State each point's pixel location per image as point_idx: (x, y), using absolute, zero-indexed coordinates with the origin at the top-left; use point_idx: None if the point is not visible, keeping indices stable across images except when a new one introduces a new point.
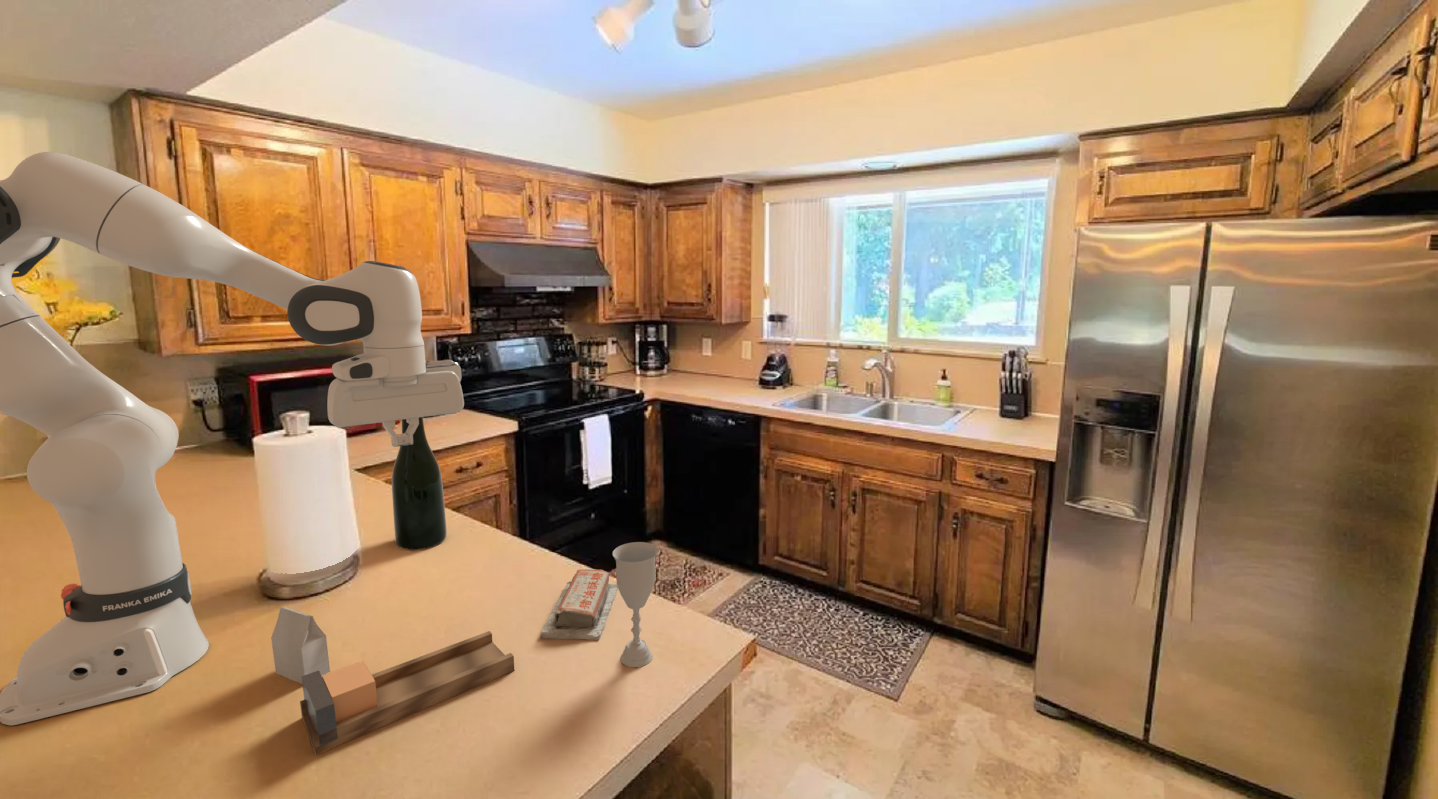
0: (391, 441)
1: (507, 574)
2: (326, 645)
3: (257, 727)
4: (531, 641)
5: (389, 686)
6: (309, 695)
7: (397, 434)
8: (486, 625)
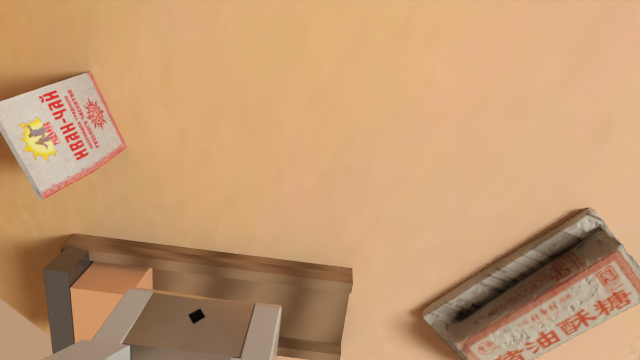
0: (119, 302)
1: (556, 46)
2: (102, 163)
3: (23, 210)
4: (404, 305)
5: (182, 273)
6: (49, 321)
7: (152, 353)
8: (383, 211)
